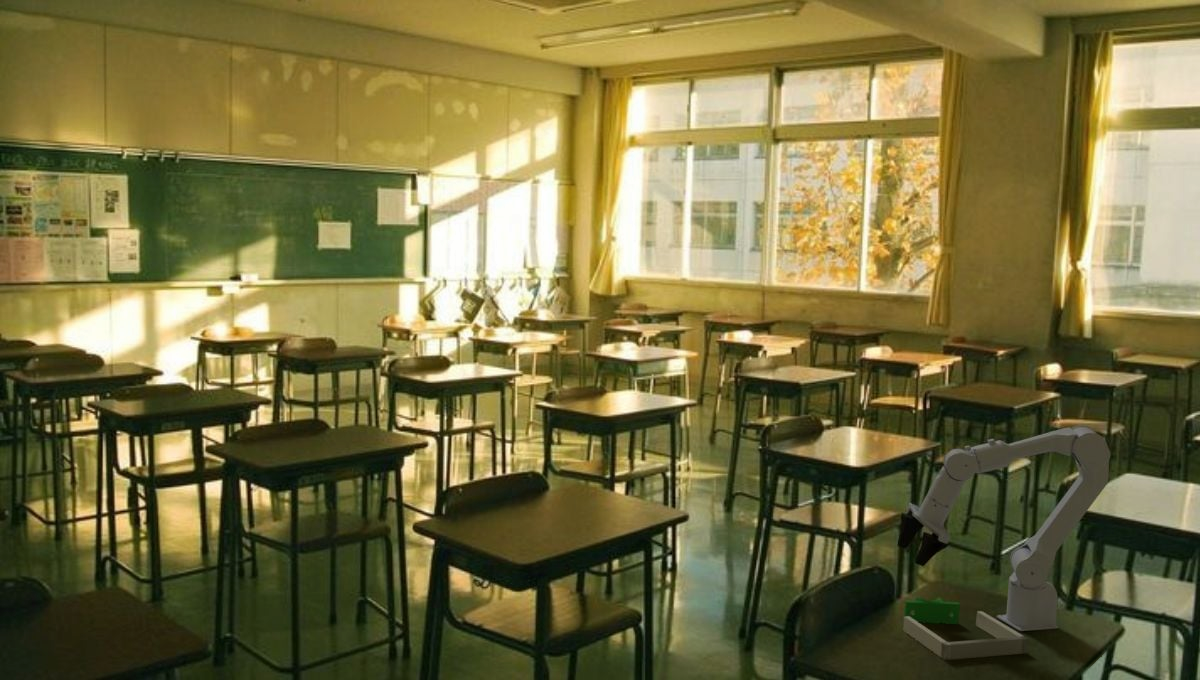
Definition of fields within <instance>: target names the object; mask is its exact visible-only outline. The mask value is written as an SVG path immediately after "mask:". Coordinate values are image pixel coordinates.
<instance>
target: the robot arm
mask: <svg viewBox="0 0 1200 680" xmlns="http://www.w3.org/2000/svg"><path fill="white" fill-rule="evenodd" d="M964 449H965V450H964ZM964 449H961V448H954V449H951V450H950V451H948V453H946V454H945V455H944V456H943V460H942V461H943V466H942V467H941V468H940V469H939V471H938V474H937V475H936V477H935V478H934V480H933V482H932V484H931V486H930V488H929V490H928V492H927V494H926V495H925V497H924V499H923V500H922V503H921V505H920V506H918V505H916V504H914V503H911V502H909V503H908V505H907V506H906V508H905V511H906V512H907V513H905V512H901V513H900V531H899V536H898V540H897V545H896V546H897V547H899V548H902V549H905V550H906V549H908V547H909V546H910V544H911V543H912V541H913V540H914V538H915V537H916V535H917V534H918V533H919V532H920V531H921V530H922V529H923V528H924V527H925V528H926V529H927V530H928V531H929V532H931V533H932V534H931V533H928V532H925V531H924V532H923V533H922V539H921V545H920V548H919V550H918V553H917V555H916V557H915V560H914V563H915V564H916V565H917V566H918V565H919V566H921V567H924V566H926V565H927V564H928V562H929V561H930V560H931V559H932V558H933V557H934V556H935V555H936V554H938V553H940V552H941V551H942V550H944V549H947V548H948V546H949V541H950V540H951V538H952V535H951V534H950V533H949V532H948V530H947V529H946V528H945V526H944V523H945V521H946V520H947V518H948V516H949V513H951V510H952V509H953V507H954V504H956V503H955V502H956V501H957V499H958V498H959V496H960V493H961V492H962V490H963V489H962V488H963V486H964V485H965V483H966V482H967V481H968V480H970V479H972V478H973V476H975V474H978V475H979V474H982V473H987V472H991V471H995V470H999V469H1003V468H1008V467H1010V465H1011V463H1012V462H1013V460H1015V459H1020V458H1025V457H1029V456H1035V455H1041V454H1044V453H1045V454H1046V453H1050V452H1055V453H1058V454H1060V455H1065V456H1067V457H1071V455H1072V456H1073V458H1074V460H1075V463H1076V468H1077V470H1078V471H1077V472H1078V474H1079V475H1078V477H1077V478H1076V480H1075V481H1074V482H1073V483H1072V485H1071V487H1070V488H1068V491H1066V493H1065V494H1064V496H1063V497H1062V498H1061V499H1060V501H1059V502H1058V504H1057V505H1056V506H1055V508H1054V509H1053V510H1052V512H1051V513H1050V515H1049V516H1048V517H1047V518H1046V519H1045V521H1044V523H1043V524H1042V525H1041V527H1040V528H1039V529H1038V531H1037V532H1036V533H1035V535H1033V536H1032V537H1029V538H1028V539H1027V540H1026V541H1025V543H1023V544H1022V545H1021V546H1018V547H1017V548H1015V549H1014V550H1013V551H1012V552H1011V554H1010V557H1009V564H1010V566H1011V568H1012V569H1013V572H1012V574H1011V575H1010V576H1009V578H1008V588H1007V589H1008V590H1007V602H1006V613H1005V614H997V615H996V618H997V619H998V620H1000V621H1002V622H1004V623H1005V624H1007V625H1009V626H1011V627H1012V628H1013V629H1014V630H1017V631H1019V632H1026V631H1027V632H1028V631H1042V630H1043V631H1044V630H1054V629H1059V626H1058V625H1057V613H1058V601H1059V600H1058V599H1059V598H1058V597H1059V595H1058V592H1057V590H1056V588H1055V586H1054V585H1053V584H1052V583H1050V582H1049V581H1047V580H1048V578H1049V571H1050V569H1051V567H1052V566H1053V564H1054V561H1055V558H1056V554H1057V551H1058V550H1059V549H1060V547H1062V545H1063V544H1064V542H1065V541H1066V539H1067V538H1068V537H1069V535H1070V534H1071V532H1072V531H1073V530H1074V529H1075V528H1076V526H1077V525H1078V523H1079V522H1080V521H1081V519H1082V518H1083V517H1084V515H1085V514H1086V512H1087V511H1088V510H1089V509H1090V508H1091V506H1092V505H1093V503H1094V502H1095V501H1096V499H1097V498H1098V496H1100V495H1101V493H1102V492H1103V490H1104V489H1105V487H1106V486H1107V485H1108V482H1109V475H1110V474H1109V472H1110V471H1109V470H1110V469H1109V467H1110V458H1111V451H1110V449H1109V446H1108V444H1107V442H1106V440H1105V438H1104V437H1103V436H1101V435H1100V434H1098V433H1097V431H1095V430H1094V429H1093V428H1091V427H1090V426H1087V425H1076V426H1074V427H1063V428H1059V429H1057V430H1053V431H1048V432H1046V433H1043V434H1039V435H1035V436H1032V437H1029V438H1025V439H1022V440H1018V441H1014V442H1010V443H1007V442H1005V441H1003V440H1002V439H1001V440H1000V439H999V440H995V438H990V439H987V443H982V444H979V445H975V446H970V445H966V446H964Z"/></svg>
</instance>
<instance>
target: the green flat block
mask: <svg viewBox="0 0 1200 680" xmlns="http://www.w3.org/2000/svg"><path fill="white" fill-rule="evenodd" d="M960 606H961V604H960V603H959V602H955V601H944V600H943V599H942V598H941V597H938V596H937V597H936V599H931V600H930V599H925V598H922V597H920V596H915V599H914V600H906V599H905V600H904V612H903V618H904V617H906V616H910V617H911V618H913V619H914V620H916V621H917V622H923V623H922V624H939V623H943V624H944V623H945V625H959V619H960ZM912 611H913V612H912ZM911 612H912V613H911ZM950 613H952V614H950ZM924 622H925V623H924ZM926 622H928V623H926ZM929 622H930V623H929ZM943 624H942V625H943Z"/></svg>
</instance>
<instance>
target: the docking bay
mask: <svg viewBox="0 0 1200 680" xmlns="http://www.w3.org/2000/svg"><path fill="white" fill-rule="evenodd" d="M902 626H903V629H902V630H903V632H904V633H906V634H907V635H908V634H909V636H910V637H911V638H913V639H914V638H915V639H914V640H915V641H917V642H918V641H919V643H920V644H921V645H922V646H924V647H925V648H927V649H928V650H929V651H931V652H932V651H933V652H932V653H934V655H937V656H938V657H940V658H941V659H942V660H944V661H948V660H964V659H973V658H974V659H975V658H985V657H987V658H988V657H996V656H997V657H998V656H1009V655H1010V656H1011V655H1022V654H1027V653H1028V643H1029V639H1028V637H1025V636H1024V635H1023V634H1021V633H1019V632H1018V631H1016V630H1015V629H1014V628H1011V627H1009V626H1008V625H1006V624H1004V623H1002V622H1001V621H999V619H998V620H997V619H996V618H995V617H992V616H991V615H989V614H987V613H986V612H984V611H983V610H982V611H979V610H978V611H976V620H975V626H976V627H977V628H980V629H981V630H982V631H985V632H986V633H988V635H990V636H992V637H994V638H984V639H982V638H981V639H972V640H959V641H958V640H957V641H946V639H943V638H942V637H941V636H939V635H937V634H936V633H935V632H934V631H931V629H928V627H926V626H924V625H923V624H922V623H918V622H917V621H916V620H914V619H913V618H911V617H910V616H906V617H904V616H903V625H902Z"/></svg>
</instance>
